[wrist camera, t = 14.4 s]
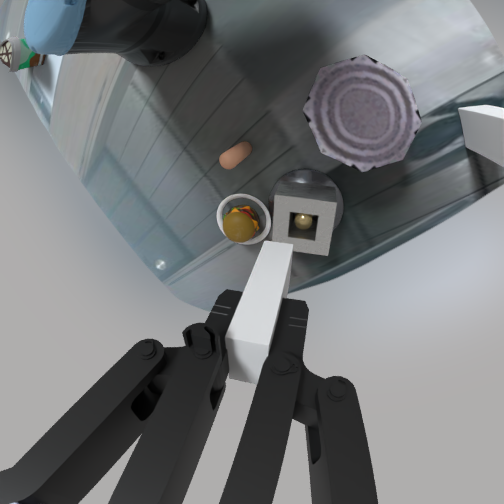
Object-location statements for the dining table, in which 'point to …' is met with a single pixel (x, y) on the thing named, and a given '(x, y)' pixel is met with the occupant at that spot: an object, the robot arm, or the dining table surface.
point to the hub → (311, 178)
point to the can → (362, 113)
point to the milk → (484, 131)
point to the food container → (19, 54)
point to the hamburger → (242, 221)
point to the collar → (307, 202)
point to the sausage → (235, 155)
